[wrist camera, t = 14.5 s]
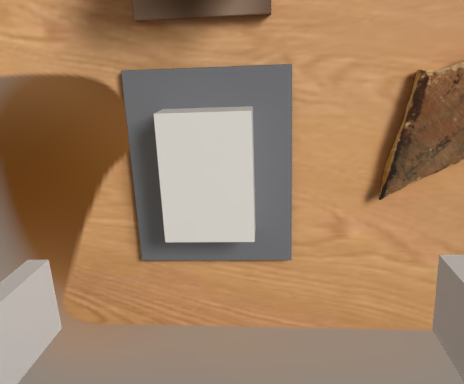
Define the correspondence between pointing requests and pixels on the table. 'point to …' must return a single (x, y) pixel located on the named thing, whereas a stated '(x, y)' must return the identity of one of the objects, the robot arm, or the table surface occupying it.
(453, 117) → the shard
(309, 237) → the table surface
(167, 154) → the card box
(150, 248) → the rubber mat
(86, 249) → the table surface
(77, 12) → the table surface
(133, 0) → the walnut stand
